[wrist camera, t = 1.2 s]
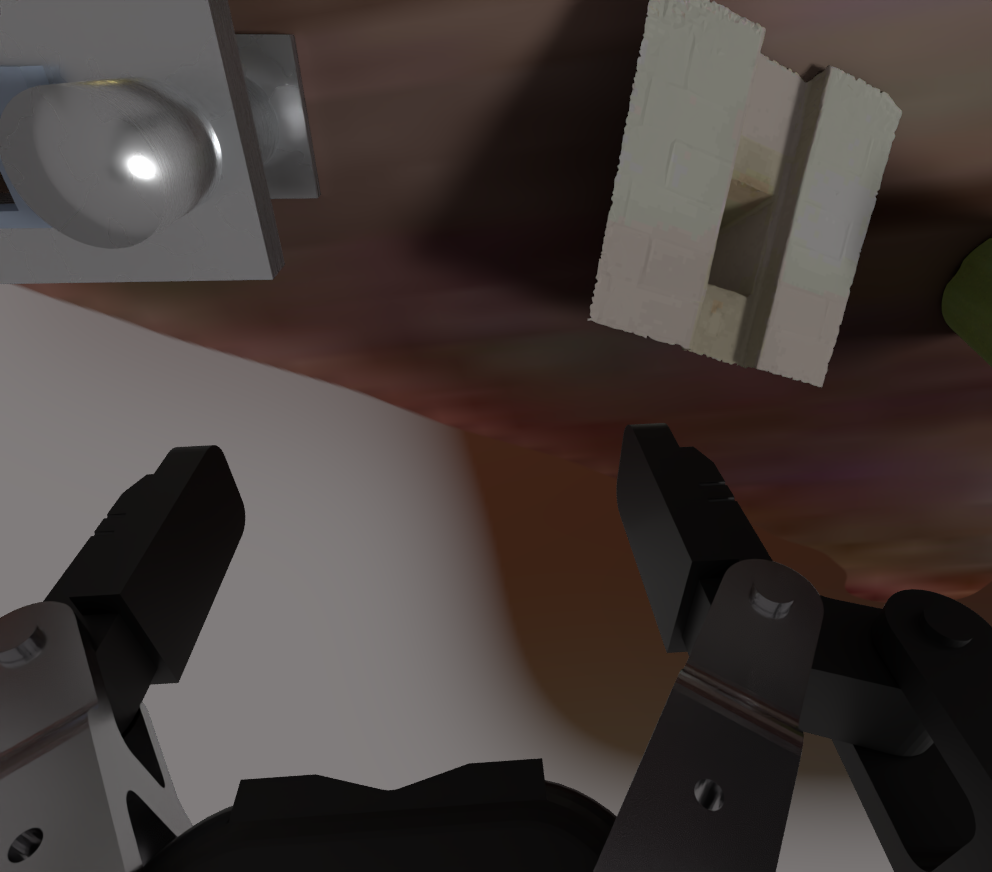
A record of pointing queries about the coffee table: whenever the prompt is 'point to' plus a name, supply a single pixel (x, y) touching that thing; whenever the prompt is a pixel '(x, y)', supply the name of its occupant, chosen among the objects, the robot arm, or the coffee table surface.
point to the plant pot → (972, 301)
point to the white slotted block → (739, 196)
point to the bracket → (3, 86)
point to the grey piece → (149, 142)
